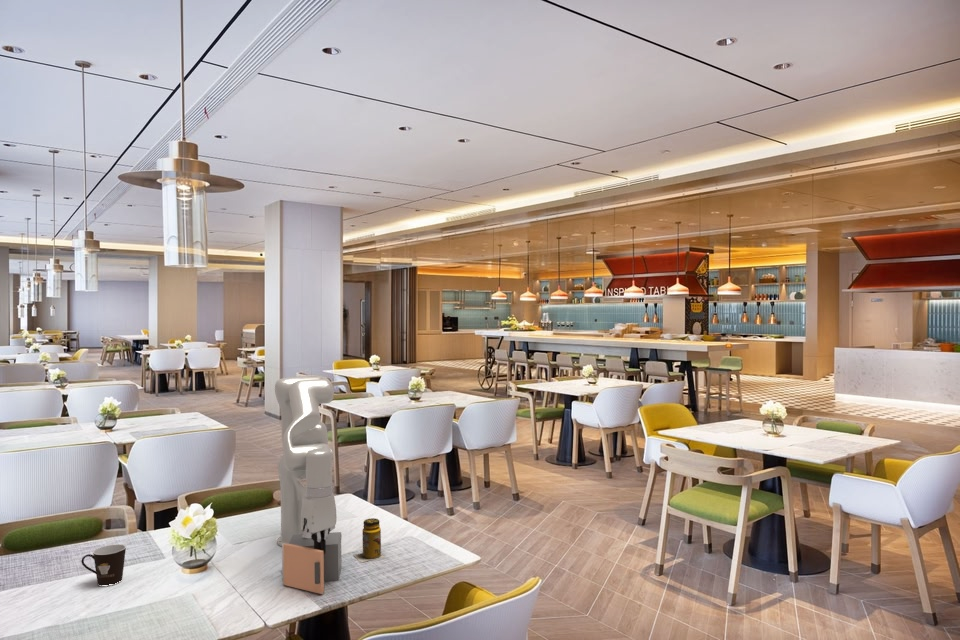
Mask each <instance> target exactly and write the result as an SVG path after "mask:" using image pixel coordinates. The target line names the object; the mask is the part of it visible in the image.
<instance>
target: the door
mask: <svg viewBox="0 0 960 640" xmlns="http://www.w3.org/2000/svg"><path fill="white" fill-rule="evenodd" d="M281 562H282V563H281V565H282V566H281V573H282V585H283V586H287V587H292V588H295V589H299V590H303V591H307V592H311V593H314V594H320V595H323V593H325V581H324V553H323V551H322V550H317V549H312V548H307V547H303V546H298V545H293V544H288V543H282V546H281Z"/></svg>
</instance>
